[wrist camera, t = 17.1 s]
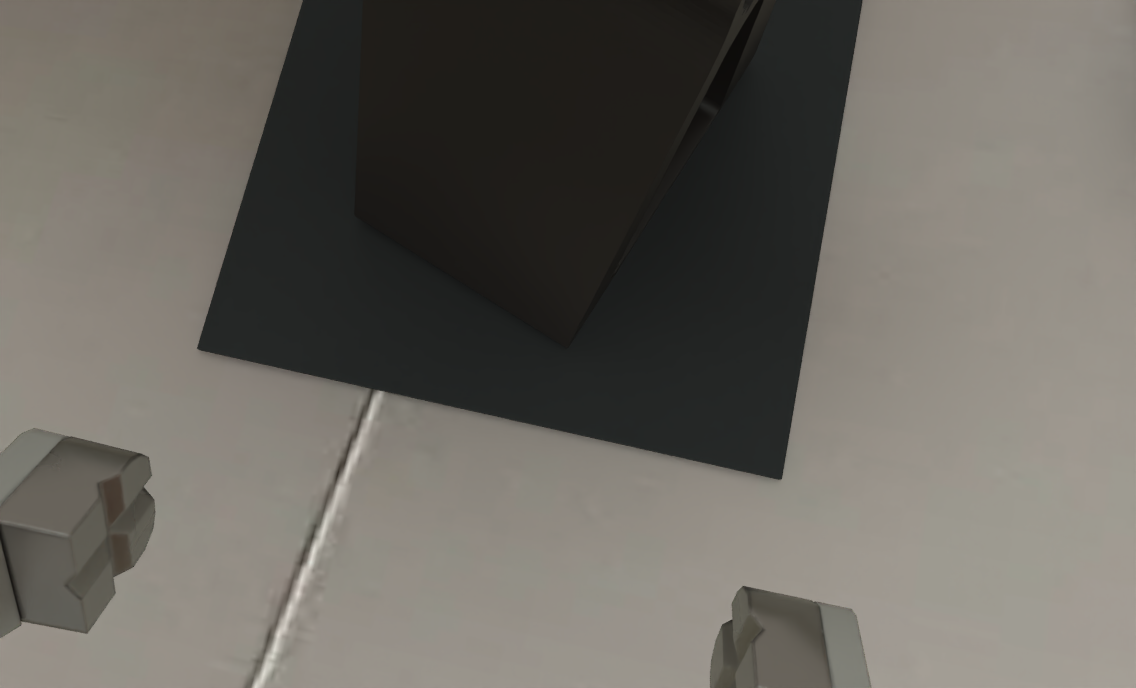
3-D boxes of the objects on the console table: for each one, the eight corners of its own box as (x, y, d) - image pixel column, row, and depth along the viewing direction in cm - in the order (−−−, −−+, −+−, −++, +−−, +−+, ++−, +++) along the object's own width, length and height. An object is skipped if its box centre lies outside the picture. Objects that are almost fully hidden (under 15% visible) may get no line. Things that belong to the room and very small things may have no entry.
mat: (199, 349, 21) (196, 348, 20) (354, -158, 23) (353, -164, 23) (779, 480, 21) (782, 479, 21) (867, -37, 23) (869, -42, 23)
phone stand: (565, 352, 21) (627, 152, 9) (355, 219, 21) (152, -143, 9) (753, 62, 22) (1013, -426, 11) (556, -58, 23) (598, -660, 11)
